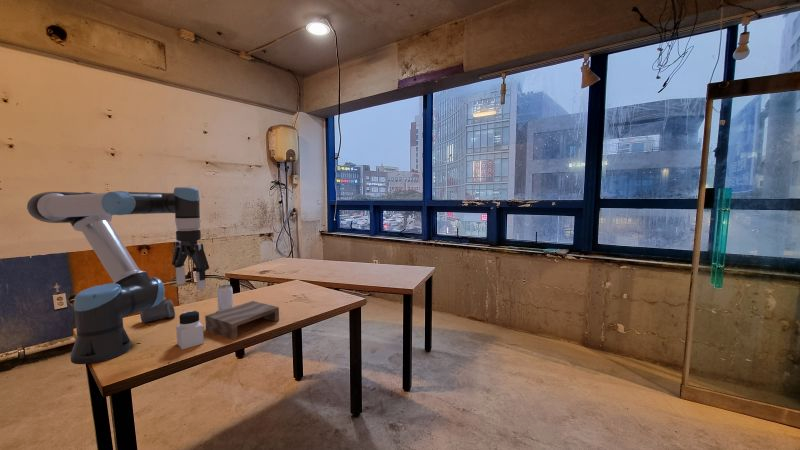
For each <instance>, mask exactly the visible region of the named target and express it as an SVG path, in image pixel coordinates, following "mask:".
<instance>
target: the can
mask: <svg viewBox="0 0 800 450" xmlns="http://www.w3.org/2000/svg"><path fill="white" fill-rule="evenodd" d="M216 293H217V312H219V311H222V310H225V309H228V308H232V307H234V293H233V287H232V285H231V284H225V285H220V286H218V288H217V292H216Z"/></svg>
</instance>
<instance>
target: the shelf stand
mask: <svg viewBox="0 0 800 450" xmlns="http://www.w3.org/2000/svg"><path fill="white" fill-rule="evenodd" d="M204 317H205V321H204V322H205V330H206V331H208V332H211V333H214V334H216V335H220V336H223V337H226V338H228V339H230V340H234V339H236V338H238V326H240V325H243V324H246V323H249V322H251V321H255V320H257V319H260V318H261V319H265V320H268V321H272V322H275V323H276V322H279V320H280V307H279V306H275V305H272V304H267V303H262V302H258V301H254V300H251V301H248V302H244V303H241V304H238V305H236V306H233V307H232V308H228V309H225V310H222V311H217V312H213V313H209V314H207V315H205V316H204Z"/></svg>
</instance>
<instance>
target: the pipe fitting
mask: <svg viewBox="0 0 800 450" xmlns="http://www.w3.org/2000/svg"><path fill="white" fill-rule="evenodd" d="M139 316H140V321H141V323H143V324H147V323H150V322H151V323H152V322H153V321H156V320H159V319H164V318H168V319H169V318H170V319H171V318H175V317H176V312H175V306H174V303H173V301H172V300H171V299H168V300H167V297H166V296H164V298H163V300H162V301H161V302H160V303H159V304H158V305H156V306H154V307H152V308H150V309H147V310H143V311H140V312H139Z"/></svg>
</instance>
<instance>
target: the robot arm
mask: <svg viewBox="0 0 800 450" xmlns="http://www.w3.org/2000/svg"><path fill="white" fill-rule="evenodd" d="M200 201H201V199H200V192H199V189H198V188H196V187H189V186H188V187H187V186H185V187H184V186H183V187H181V186H179V187H174V188H173V192H151V191H150V192H146V191H145V192H144V191H143V192H141V191H139V192H138V191H123V190H116V191H108V192H100V193H98V192H97V193H96V192H91V191H90V192H89V191H86V192H85V191H84V192H73V191H45V192H41V193H37V194H35V195H33V196H32V197H31V198H30V199H28V201H27V205H26V209H27V212H28V214H29V215H30V216H31V217H32V218H34V219H35V220H37V221H40V222H43V223H49V224H65V223H66V224H70V226H71V227H72V228H73V229H74V230H75V231H77V232H81V233H82V234H83V235H84V237H85V239H86V240H87V242H88V243H89V245H90V246H91V248H92V250H93V252H94V253H95V255H96V256H97V258H98V260H99V261H100V262H101V264H102V265H103V268H104V269H105V270H106V272H107V274H108V275H109V277H110V278H111V280H112V282H111V283H104V284H101V285H99V284H97V285H95V286H94V285H93V286H91V287H89V288H86V289H83V290H81V291H79V292H78V293H77V294H76V295H75V296H74V304H73V310H74V318H75V330H76V331H75V332H76V338H75V341H74V345H73V347H72V349H71V353H70V362H71V363H72V364H74V365H88V364H94V363H95V364H96V363H99V362H103V361H107V360H109V359H110V360H111V359H113V358H117V357H118V356H121V355H123V354H125V353H127V352H128V351H130V349H131V348H132V342H131V338H130V336H129V335H128V333H127V332H126V330H125V328H124V318H125V317H129V316H131V315H133V314H138V313H140V312H141V311H143V310H147V309H150V308H152V307H154V306H156V305H158V304H159V303H160V302H161V301H162V300H163V298H164V297H165V292H166V290H165V285H164V283H163V281H162V280H161V279H160V278H157V277H154V276H152V277H151V276H150V275H149V273H148V272H147V271H145V270H141V269H140V268H139V266H138V265H137V264H136V262H135V259H133V257H132V256H131V254H130V253H129V250H128V249H127V247H126V246H125V244H124V243H123V242H122V240H121V239H120V237H119V235H118V234H117V232H116V230H115V228H114V227H113V225H112V224H111V222H112V220H113V218H112V217H113V216H126V215H129V216H130V215H146V214H147V215H148V214H149V215H151V214H152V215H153V214H174V223H175V226H174V227H175V229H176V231H175V239H176V241H175V244H174V246H175V247H174V253H173V256H172V261H171V265H172V266H174V267H175V281H176V282H175V283H176V284H175V285H177V286H179V285H185V284H186V271H185V270H186V269H185V268H186V267H185V266H186V264H185V262H186V259H187V258H188V257H190V258H191V260H192V262H193V264H194V266H195V268H196V270H195V275H196V276H195V278H196V280H195V281H196V290H197V291H200V290H204V289H206V287H207V283H206V282H207V281H206V271H207V270H210V266H209V262H208V259H207V256H206V253H205V249H204V244H203V243H198V241H200V240H201V238H202V234H201V233H202V232H201V231H202V230H201V229H200V228H201V222H202V221H201V216H200V215H201V214H200V213H201V211H200V210H201V209H200V205H201V204H200Z"/></svg>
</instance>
